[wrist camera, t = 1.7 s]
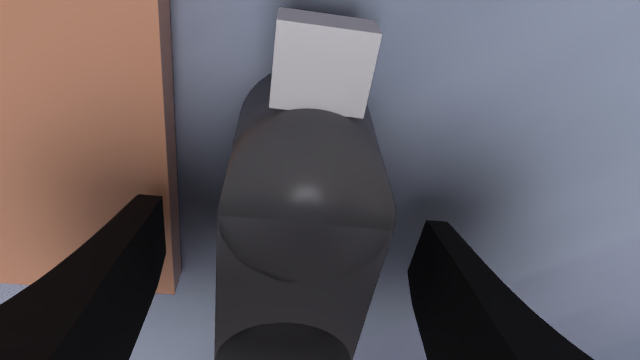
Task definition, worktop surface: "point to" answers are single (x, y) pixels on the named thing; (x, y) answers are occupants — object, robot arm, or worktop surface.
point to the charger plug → (304, 199)
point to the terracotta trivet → (83, 127)
